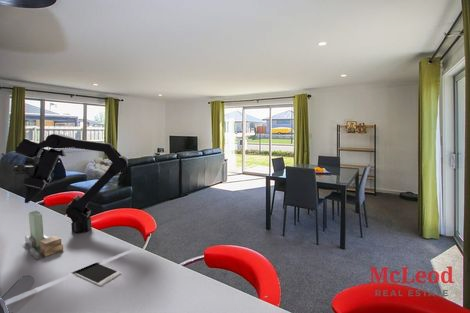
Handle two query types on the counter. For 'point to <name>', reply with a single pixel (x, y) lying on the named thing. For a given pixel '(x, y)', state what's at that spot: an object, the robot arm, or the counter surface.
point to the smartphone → (97, 273)
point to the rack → (35, 248)
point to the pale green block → (36, 227)
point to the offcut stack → (51, 245)
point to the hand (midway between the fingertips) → (28, 200)
